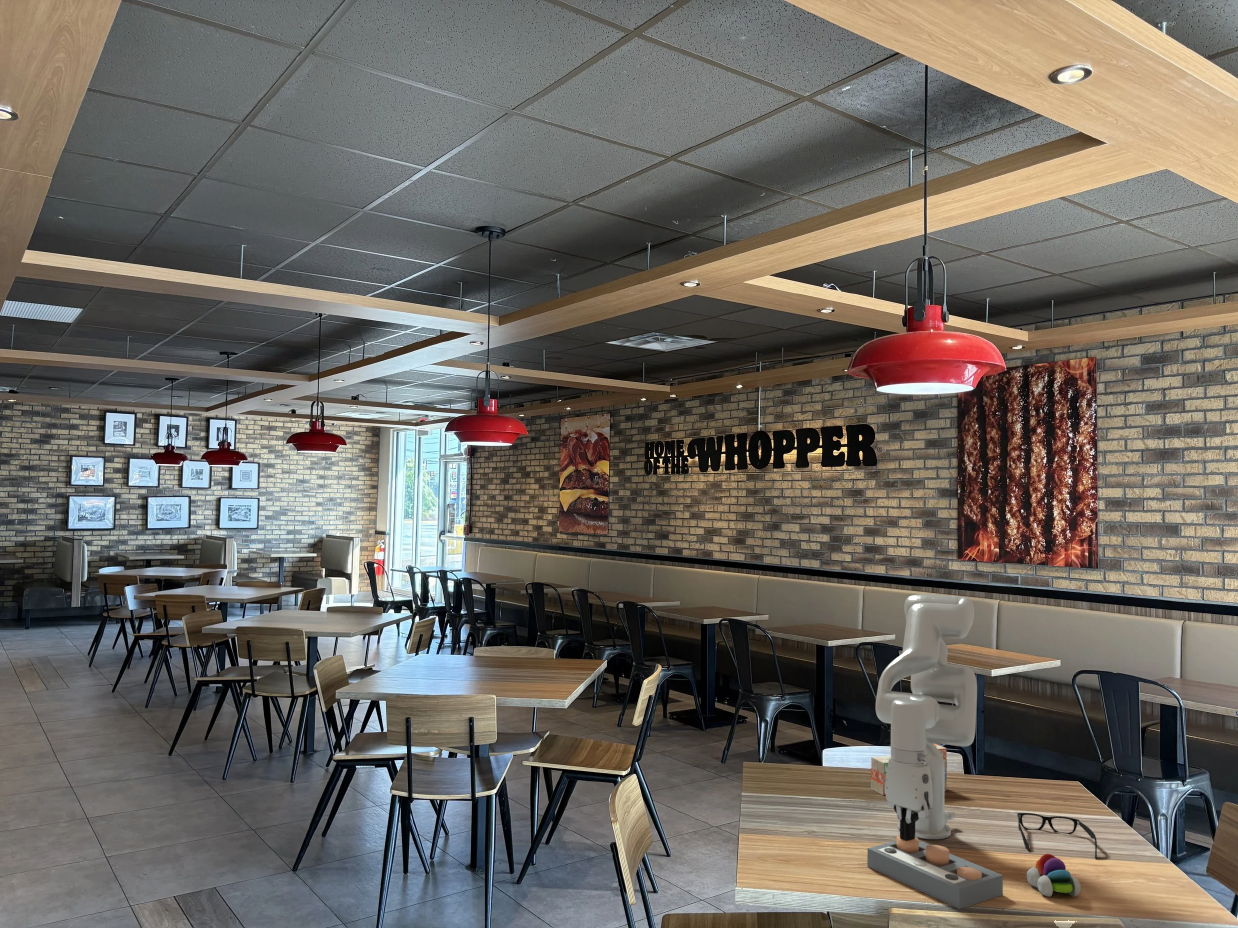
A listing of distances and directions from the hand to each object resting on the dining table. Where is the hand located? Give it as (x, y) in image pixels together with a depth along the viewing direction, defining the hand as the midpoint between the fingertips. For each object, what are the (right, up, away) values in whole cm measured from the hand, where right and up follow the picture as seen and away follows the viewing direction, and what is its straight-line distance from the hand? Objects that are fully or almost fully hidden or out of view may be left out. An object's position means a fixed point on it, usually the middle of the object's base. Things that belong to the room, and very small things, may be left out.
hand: (907, 838), depth 196 cm
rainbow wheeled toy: (+27, -6, -12) cm, 30 cm away
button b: (+4, -3, -7) cm, 8 cm away
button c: (+8, -4, -14) cm, 16 cm away
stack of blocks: (+19, -10, +56) cm, 60 cm away
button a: (0, -3, 0) cm, 3 cm away
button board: (+3, -6, -8) cm, 10 cm away
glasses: (+41, -9, +17) cm, 45 cm away
